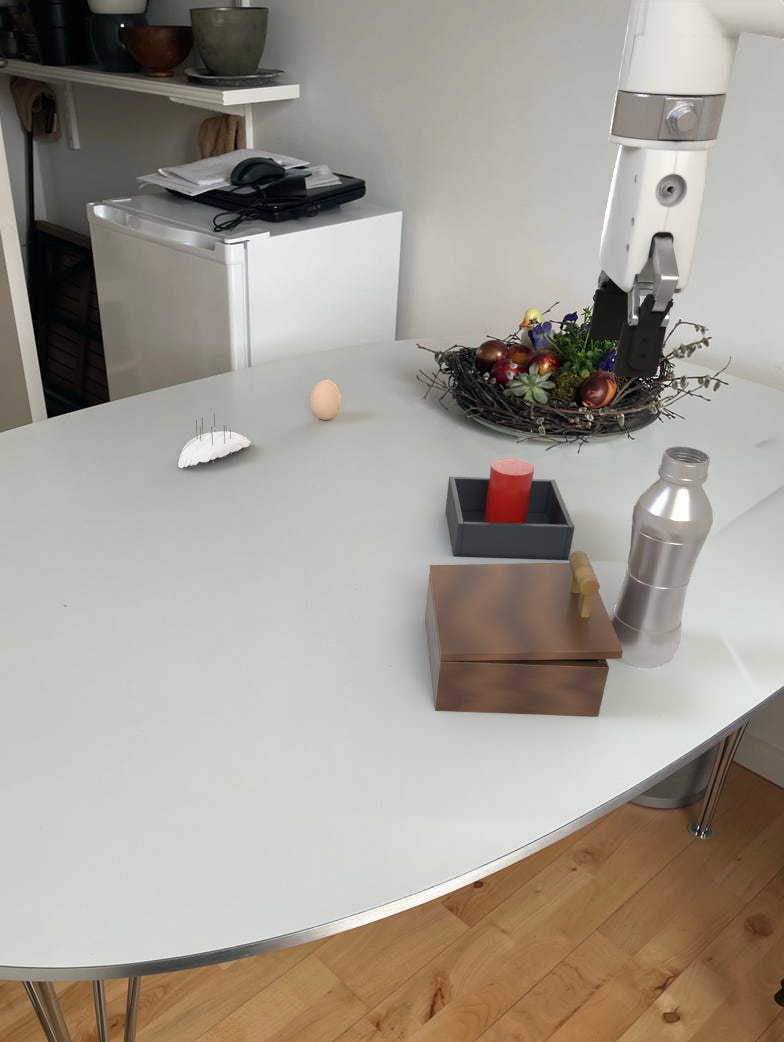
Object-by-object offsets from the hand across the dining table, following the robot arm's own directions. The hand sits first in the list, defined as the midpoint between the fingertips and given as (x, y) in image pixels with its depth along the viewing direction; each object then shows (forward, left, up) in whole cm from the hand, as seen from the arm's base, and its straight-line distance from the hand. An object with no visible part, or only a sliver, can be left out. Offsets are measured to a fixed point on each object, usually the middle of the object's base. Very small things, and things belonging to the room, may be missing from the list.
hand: (620, 356), depth 79 cm
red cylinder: (+10, -16, -26) cm, 32 cm away
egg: (+42, -42, -26) cm, 65 cm away
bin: (+10, -16, -26) cm, 32 cm away
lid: (+4, +10, -20) cm, 23 cm away
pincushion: (+50, -23, -26) cm, 61 cm away
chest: (+4, +10, -26) cm, 28 cm away
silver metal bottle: (-7, +3, -26) cm, 28 cm away
